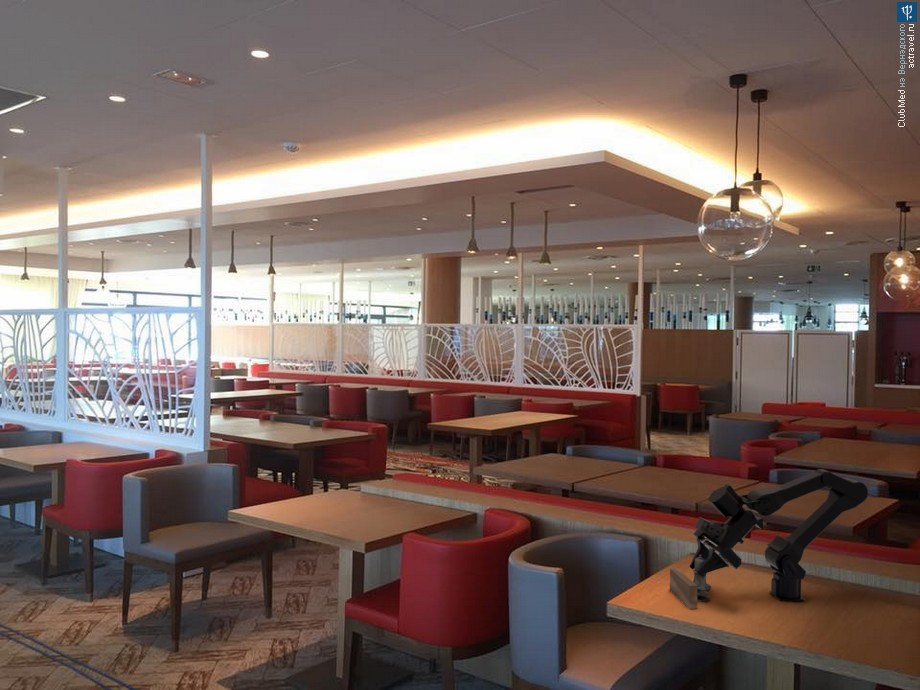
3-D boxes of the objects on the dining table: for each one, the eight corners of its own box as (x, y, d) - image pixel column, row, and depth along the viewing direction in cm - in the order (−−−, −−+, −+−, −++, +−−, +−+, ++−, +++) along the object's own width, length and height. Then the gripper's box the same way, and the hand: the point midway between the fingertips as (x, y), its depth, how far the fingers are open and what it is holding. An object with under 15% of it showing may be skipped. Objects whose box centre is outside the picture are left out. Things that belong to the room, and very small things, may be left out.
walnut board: (676, 590, 212) (677, 568, 212) (697, 608, 198) (697, 585, 198) (669, 590, 212) (670, 568, 212) (689, 609, 198) (689, 585, 198)
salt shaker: (706, 604, 201) (707, 558, 201) (684, 599, 205) (685, 554, 205) (714, 598, 206) (715, 553, 206) (693, 593, 210) (694, 549, 209)
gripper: (700, 499, 214) (661, 540, 214) (730, 516, 196) (687, 560, 195) (728, 527, 215) (688, 568, 215) (759, 546, 197) (717, 591, 196)
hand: (694, 570), depth 205 cm, fingers open, 5 cm apart
